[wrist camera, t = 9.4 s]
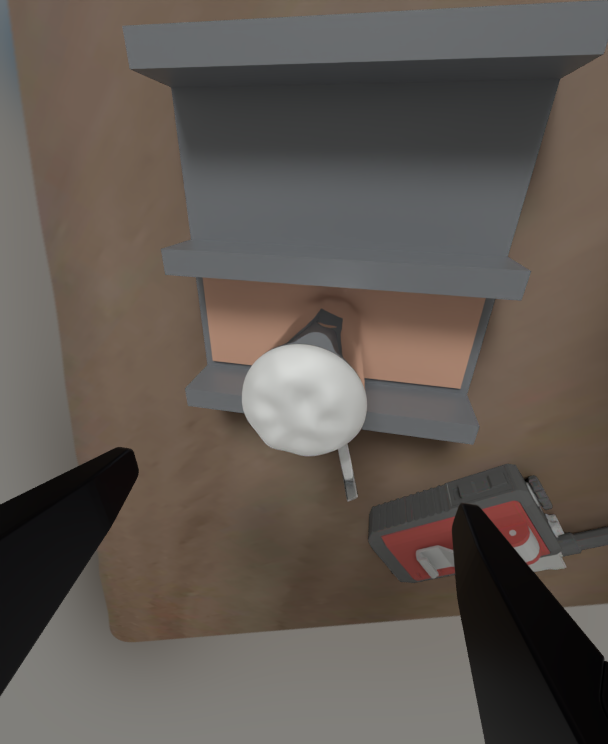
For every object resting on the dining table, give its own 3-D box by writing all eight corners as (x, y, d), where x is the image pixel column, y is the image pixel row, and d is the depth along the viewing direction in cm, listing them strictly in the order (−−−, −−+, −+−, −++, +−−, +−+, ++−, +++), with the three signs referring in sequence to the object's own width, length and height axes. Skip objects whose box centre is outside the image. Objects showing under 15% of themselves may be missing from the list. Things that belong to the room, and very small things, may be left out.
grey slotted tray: (562, 38, 13) (625, -11, 10) (458, 404, 22) (472, 447, 18) (177, 53, 16) (120, 18, 12) (216, 376, 24) (188, 408, 21)
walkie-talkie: (405, 571, 31) (688, 510, 22) (408, 626, 27) (750, 577, 19) (351, 507, 28) (648, 410, 20) (347, 557, 25) (710, 464, 16)
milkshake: (335, 383, 21) (303, 522, 13) (275, 318, 20) (193, 422, 11) (398, 342, 19) (411, 473, 11) (336, 265, 18) (293, 344, 9)
